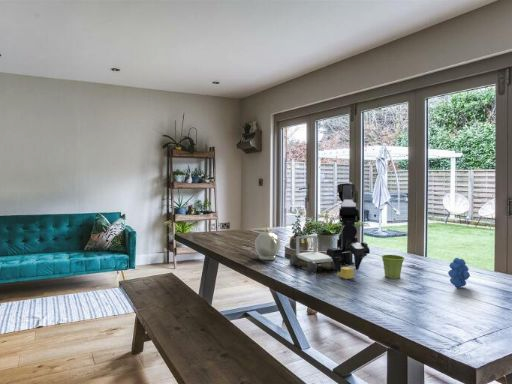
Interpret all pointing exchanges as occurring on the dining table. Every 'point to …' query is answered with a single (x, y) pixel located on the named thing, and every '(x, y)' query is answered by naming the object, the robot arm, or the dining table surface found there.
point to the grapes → (458, 273)
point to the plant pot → (392, 265)
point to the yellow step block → (346, 272)
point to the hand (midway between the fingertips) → (348, 271)
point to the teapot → (267, 245)
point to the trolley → (310, 256)
